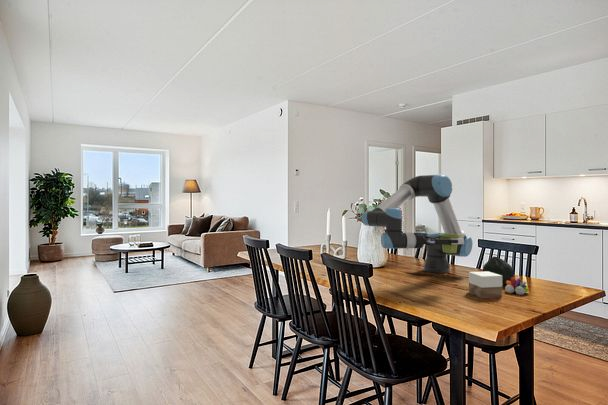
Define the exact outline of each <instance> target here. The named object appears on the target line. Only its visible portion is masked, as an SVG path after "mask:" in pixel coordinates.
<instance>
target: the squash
mask: <svg viewBox="0 0 608 405" xmlns="http://www.w3.org/2000/svg"><path fill="white" fill-rule="evenodd" d="M484 271H489V272H492V273H495V274H499V275H502V286H507V283H506V281H511V278H512V277H513V278H514V276H515V273H514V269H513V267H512V266H511V264H510V263H509V262H507V261H505V260H504V259H502V258H501V257H498V256H492V257H491V258H490V259H489V260H488V261H487V262H486V263H484V265H483V267H482V271H481V272H484Z"/></svg>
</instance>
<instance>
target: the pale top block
mask: <svg viewBox="0 0 608 405" xmlns="http://www.w3.org/2000/svg"><path fill="white" fill-rule="evenodd" d="M469 283H471V284H474V285H476V286H479V287H482V288H485V287H502V288H503V285H502V275H499V274H495V273H492V272H489V271H484V272H482V271H469V272H468V284H469Z"/></svg>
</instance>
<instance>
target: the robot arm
mask: <svg viewBox="0 0 608 405" xmlns="http://www.w3.org/2000/svg"><path fill="white" fill-rule="evenodd" d="M451 180H452V179H450V178H449V176H448V175H445V174H438V173H437V174H432V175H431V174H430V175H429V174H428V175H426V174H425V175H418V176H414V177H412V178H411V179H408V180H406V181H405V182H404V183H402V184H401V185H400V186H399V189H397V191H395V192H393V194H391V195H390V196H389V197H387V198H386V199H385V200H383V201H382V202H381V203H380V204H378V205H377V206H376V207H375V208H373V209H372V210H367V211H364V212H362V214H361V218H360V219H361V223H362V224H363V226H368V227H376V228H377V227H378V228H379V227H381V228H385V232H383V233H381V235H380V244H381V247H382V248H383V249H391V250H392V249H394V250H396V249H406V250H407V251H408V250H409V249H423V247H424V245H426V257H425V261H424V263H423V264H424V265H423V271H425V272H428V273H437V274H442V273H443V274H444V273H445V274H446V273H450V272H451V267H450V264H449V261H448V257H447V256H453V257H462V258H463V257H464V258H465V257H468V256H469V255H470V254H471V252H472V249H473V239H472V237H471V236H467V235H466V232H465V231H463V230H462V229H461V227H460V225H459V222H458V220H457V217H456V214H455V211H454V209H453V206H452V203H451V201H450V197H451V195H452V193H453V183H452V181H451ZM417 197H424V198H426V197H427V200H428V202H429V203H431V204H433V206H434V209H435V211H436V212H435V213H436V214H437V217H438V219H439V222H440V224H441V226H442V229H443V231H444V232H443V231H442V232H432V233H428V234H427V235H423V233H421V232H402V230H403V210H402V208H401V206H402V205H403V204H405V203H406V202H407V201H410V200H413V199H414V198H417ZM440 234H457V235H460V236H459V238H450V239H441V238H440ZM452 244H458V245H457V252H456V253H445V252H443V249H442V245H450V246H451V245H452Z"/></svg>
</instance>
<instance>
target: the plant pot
mask: <svg viewBox="0 0 608 405" xmlns="http://www.w3.org/2000/svg"><path fill="white" fill-rule="evenodd" d="M459 236H460V235H457V234H440V238H441V239H450V238H459ZM457 245H458V244H452V245H451V246H450V245H442V249H443V252H445V253H456V252H457Z"/></svg>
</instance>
